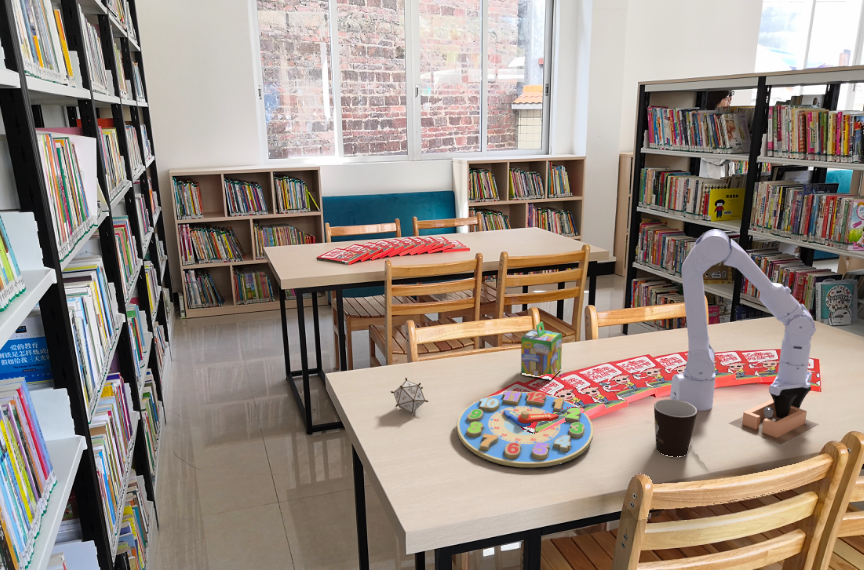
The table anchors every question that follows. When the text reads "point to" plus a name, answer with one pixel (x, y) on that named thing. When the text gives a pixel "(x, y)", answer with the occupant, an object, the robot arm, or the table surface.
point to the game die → (409, 396)
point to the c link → (772, 427)
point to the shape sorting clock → (510, 445)
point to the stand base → (778, 440)
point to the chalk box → (541, 352)
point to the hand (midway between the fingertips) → (786, 415)
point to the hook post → (768, 413)
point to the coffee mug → (673, 426)
